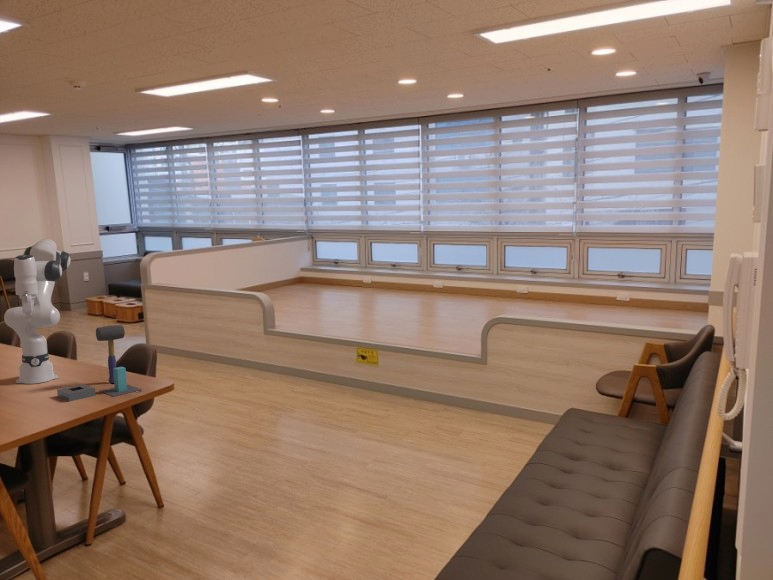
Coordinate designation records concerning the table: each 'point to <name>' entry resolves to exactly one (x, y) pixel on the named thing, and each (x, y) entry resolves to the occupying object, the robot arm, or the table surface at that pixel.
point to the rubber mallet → (110, 344)
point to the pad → (116, 393)
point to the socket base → (76, 392)
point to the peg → (120, 379)
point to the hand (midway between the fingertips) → (29, 320)
